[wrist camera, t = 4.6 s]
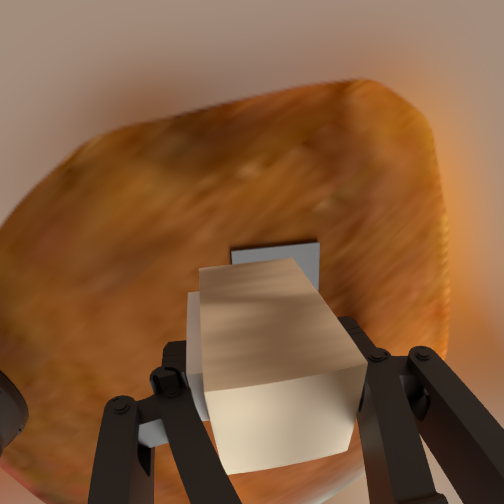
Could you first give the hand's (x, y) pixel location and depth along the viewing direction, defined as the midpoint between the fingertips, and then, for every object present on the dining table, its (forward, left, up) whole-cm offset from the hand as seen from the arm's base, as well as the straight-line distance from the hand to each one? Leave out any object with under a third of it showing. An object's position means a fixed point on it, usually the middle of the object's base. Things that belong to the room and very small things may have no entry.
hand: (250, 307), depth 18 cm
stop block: (0, 0, 0) cm, 0 cm away
